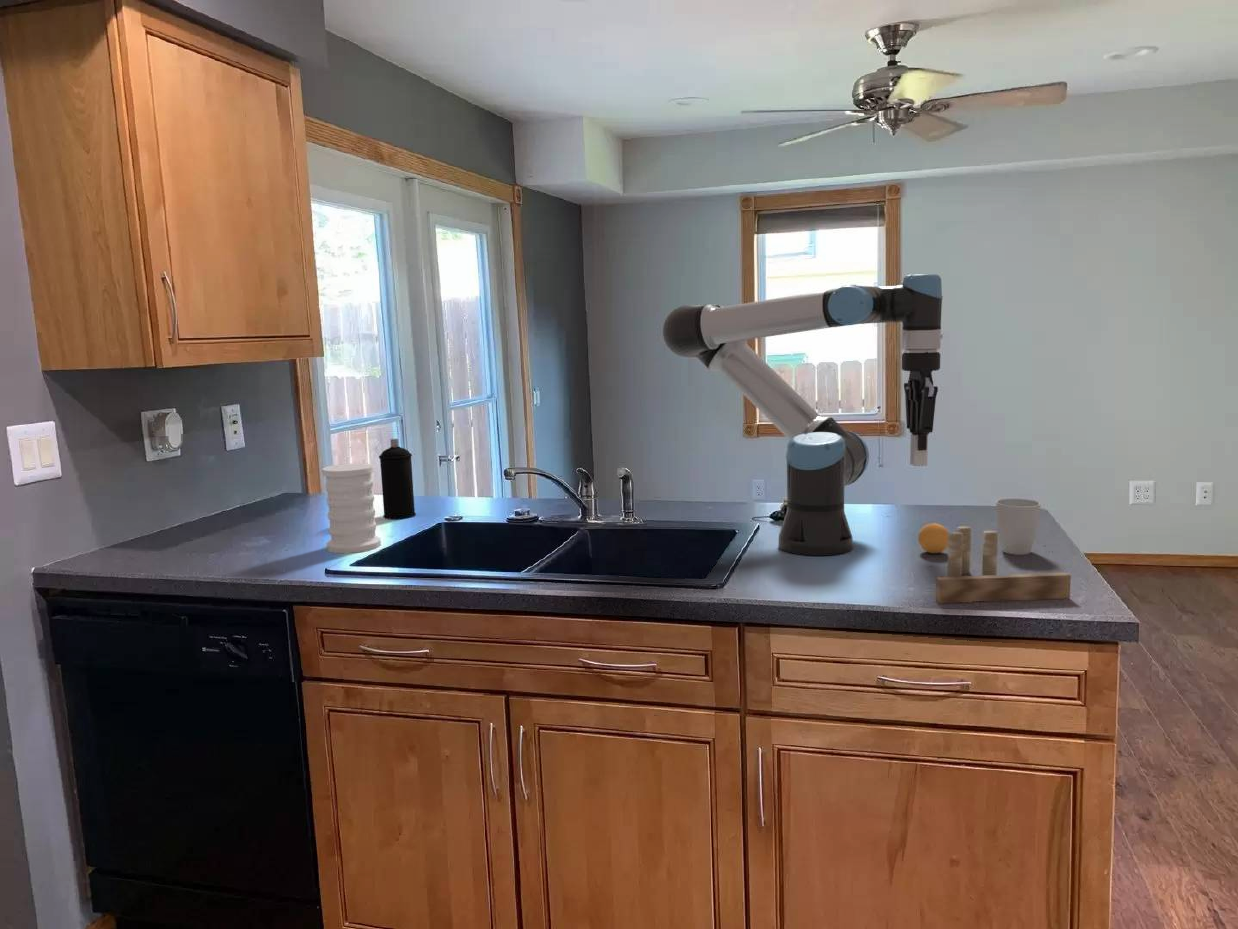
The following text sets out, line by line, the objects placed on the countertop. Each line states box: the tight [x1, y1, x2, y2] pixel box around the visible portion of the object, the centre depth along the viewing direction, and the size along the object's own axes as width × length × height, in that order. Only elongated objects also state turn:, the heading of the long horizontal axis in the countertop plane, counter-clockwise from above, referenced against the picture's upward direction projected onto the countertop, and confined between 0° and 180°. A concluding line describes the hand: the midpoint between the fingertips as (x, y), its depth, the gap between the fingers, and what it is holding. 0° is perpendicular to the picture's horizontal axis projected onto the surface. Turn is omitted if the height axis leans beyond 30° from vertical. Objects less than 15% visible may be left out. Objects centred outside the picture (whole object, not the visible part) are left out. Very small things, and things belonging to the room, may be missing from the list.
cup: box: [995, 498, 1041, 556], centre depth 182 cm, size 8×8×10 cm
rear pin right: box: [946, 531, 963, 577], centre depth 165 cm, size 2×2×8 cm
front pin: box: [956, 525, 972, 575], centre depth 169 cm, size 2×2×8 cm
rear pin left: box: [981, 530, 999, 576], centre depth 165 cm, size 2×2×8 cm
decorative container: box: [321, 462, 382, 554], centre depth 202 cm, size 12×12×18 cm
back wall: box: [935, 572, 1072, 604], centre depth 153 cm, size 22×2×4 cm, turn 92°
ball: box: [917, 522, 949, 554], centre depth 183 cm, size 6×6×6 cm
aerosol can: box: [378, 438, 417, 520], centre depth 233 cm, size 8×8×20 cm
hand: (918, 464), depth 191 cm, fingers closed
